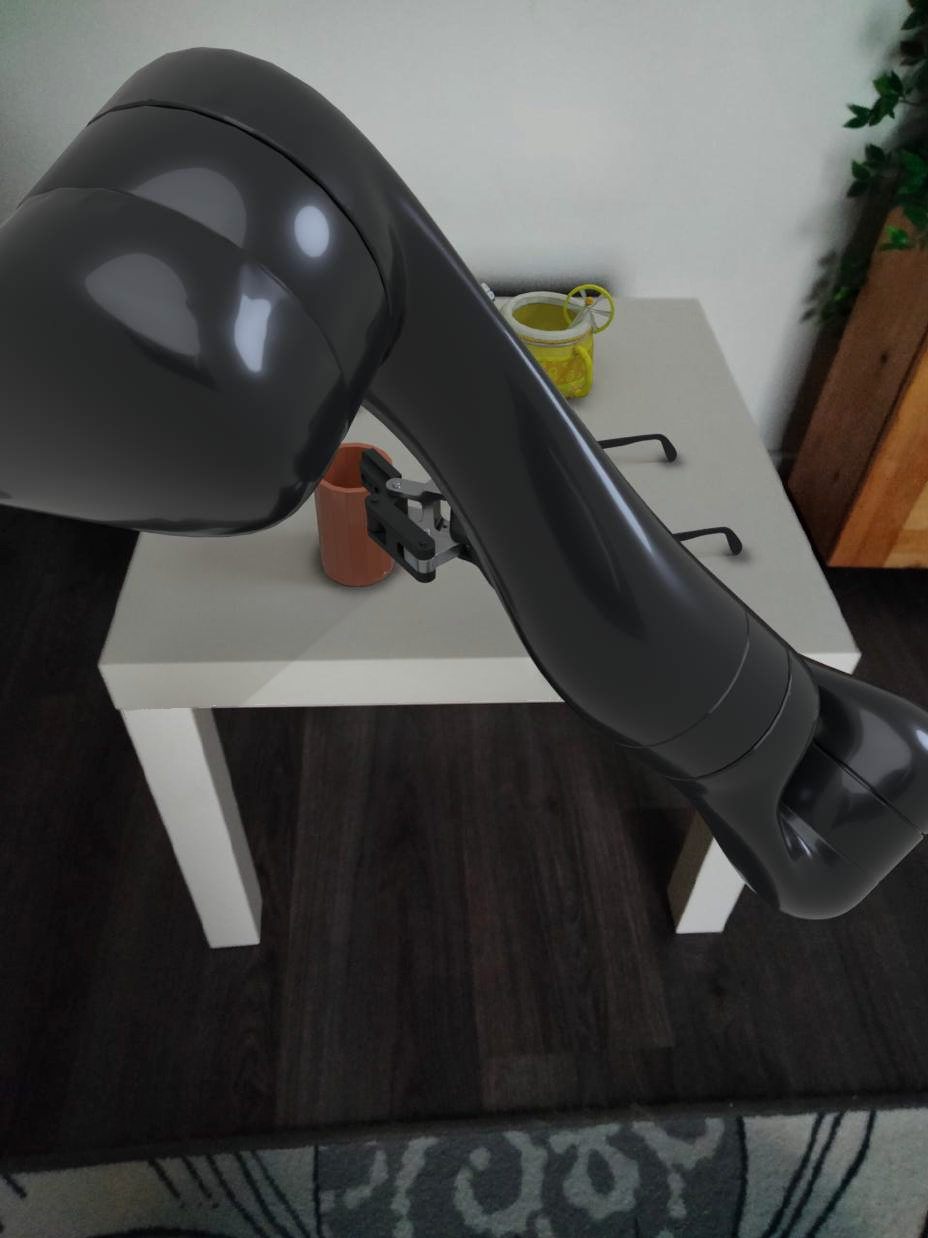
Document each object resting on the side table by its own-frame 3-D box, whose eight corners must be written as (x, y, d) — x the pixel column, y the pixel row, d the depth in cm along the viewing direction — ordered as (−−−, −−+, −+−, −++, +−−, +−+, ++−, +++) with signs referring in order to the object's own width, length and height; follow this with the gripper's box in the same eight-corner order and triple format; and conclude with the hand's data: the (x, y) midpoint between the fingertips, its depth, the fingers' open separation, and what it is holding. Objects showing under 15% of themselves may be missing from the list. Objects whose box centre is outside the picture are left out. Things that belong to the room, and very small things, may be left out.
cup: (361, 597, 73) (355, 502, 66) (306, 564, 76) (294, 469, 68) (410, 557, 77) (409, 463, 69) (356, 527, 79) (349, 432, 72)
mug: (468, 373, 97) (473, 266, 88) (544, 344, 102) (556, 239, 93) (545, 431, 90) (559, 321, 81) (623, 397, 95) (644, 289, 86)
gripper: (695, 481, 48) (515, 355, 58) (479, 581, 43) (319, 423, 52) (672, 583, 54) (510, 453, 63) (477, 684, 48) (331, 524, 57)
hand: (424, 439), depth 57 cm, fingers open, 8 cm apart
